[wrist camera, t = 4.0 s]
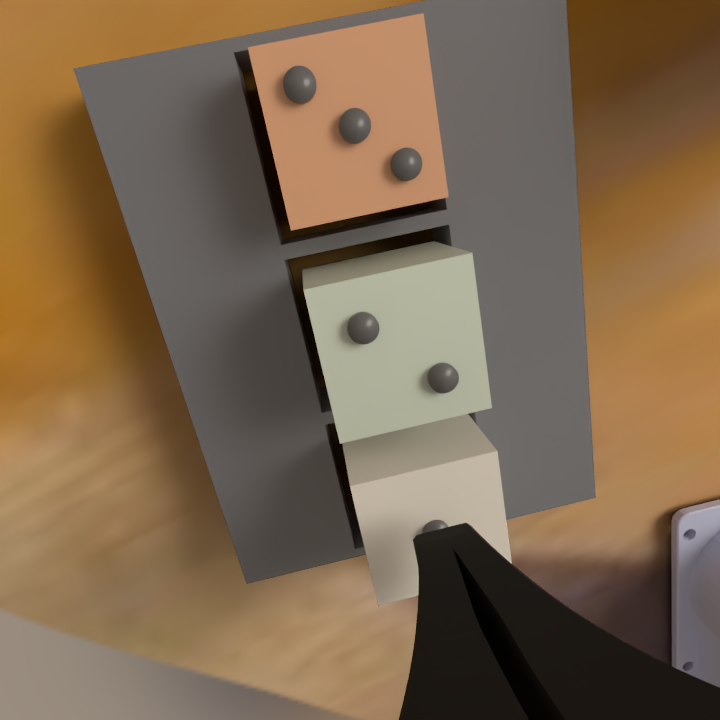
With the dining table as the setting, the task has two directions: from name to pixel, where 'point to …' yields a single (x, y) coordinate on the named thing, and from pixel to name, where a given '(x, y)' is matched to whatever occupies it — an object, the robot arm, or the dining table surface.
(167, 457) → the dining table surface
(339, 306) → the pale green cube
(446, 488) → the cream single-knob block
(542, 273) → the button board
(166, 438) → the dining table surface
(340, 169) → the orange dice cube
